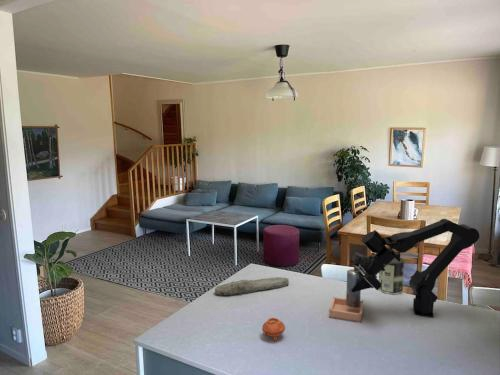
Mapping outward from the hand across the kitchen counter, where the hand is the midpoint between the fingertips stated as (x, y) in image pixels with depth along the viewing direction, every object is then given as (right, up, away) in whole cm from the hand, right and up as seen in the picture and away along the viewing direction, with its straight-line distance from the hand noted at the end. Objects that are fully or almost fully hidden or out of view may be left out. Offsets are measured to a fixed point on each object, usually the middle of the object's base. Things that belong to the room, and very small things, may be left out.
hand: (350, 288), depth 143 cm
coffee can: (+24, -7, +22) cm, 33 cm away
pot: (-30, -13, -14) cm, 36 cm away
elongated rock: (-37, -7, +25) cm, 45 cm away
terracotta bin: (-1, -10, +2) cm, 10 cm away
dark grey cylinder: (+1, -6, +1) cm, 7 cm away
